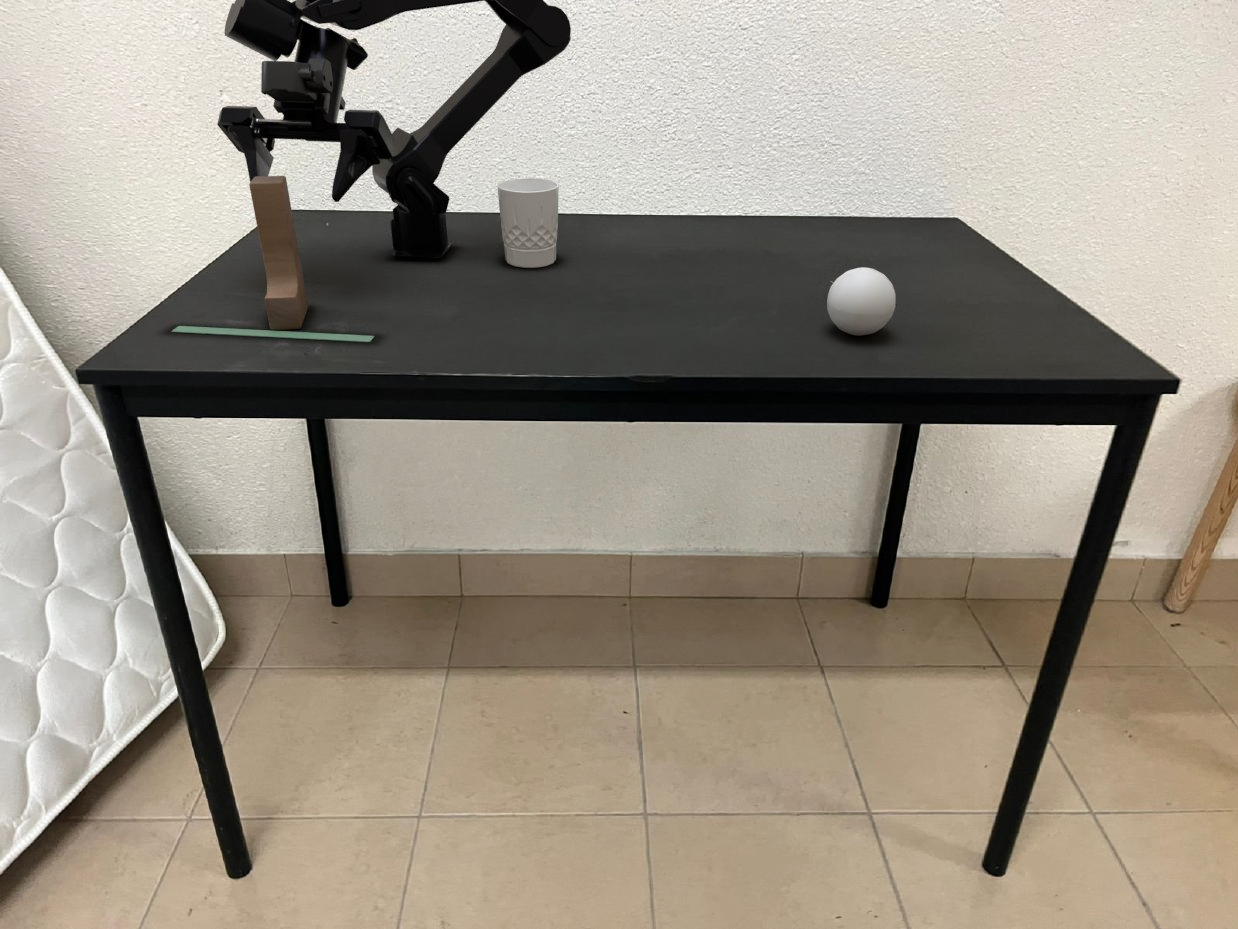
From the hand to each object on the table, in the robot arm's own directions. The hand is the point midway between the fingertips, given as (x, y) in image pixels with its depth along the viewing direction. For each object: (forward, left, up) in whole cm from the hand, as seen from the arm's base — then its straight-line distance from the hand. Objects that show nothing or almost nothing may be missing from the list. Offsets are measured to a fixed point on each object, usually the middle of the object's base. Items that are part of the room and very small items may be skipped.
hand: (295, 198), depth 100 cm
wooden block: (0, +7, -12) cm, 14 cm away
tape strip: (0, +11, -12) cm, 16 cm away
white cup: (-23, -18, -12) cm, 31 cm away
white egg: (-63, +1, -12) cm, 64 cm away
